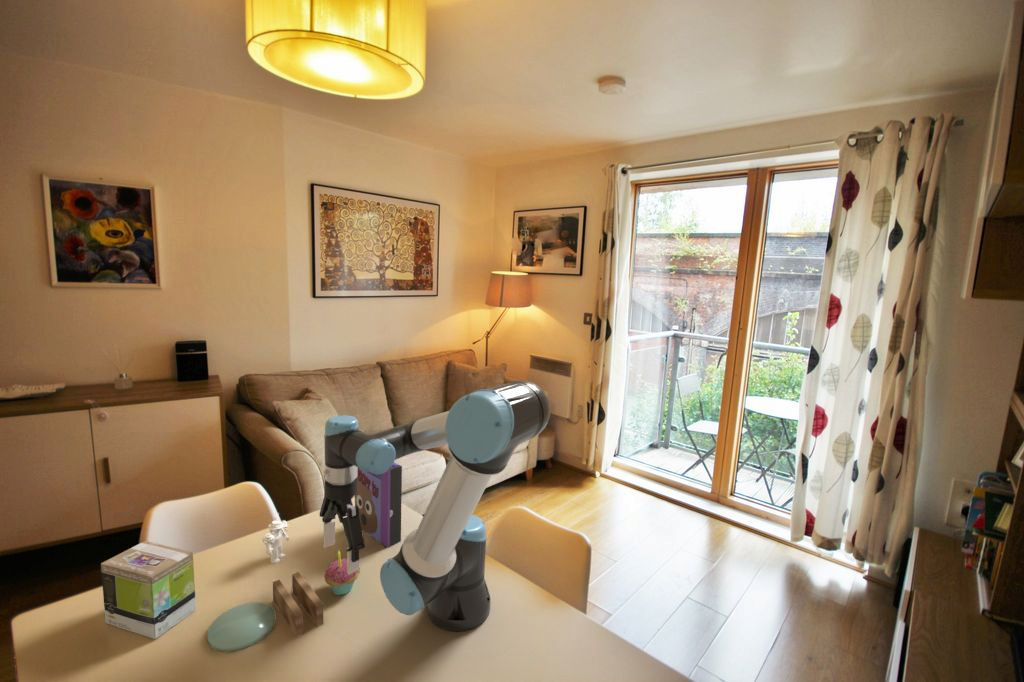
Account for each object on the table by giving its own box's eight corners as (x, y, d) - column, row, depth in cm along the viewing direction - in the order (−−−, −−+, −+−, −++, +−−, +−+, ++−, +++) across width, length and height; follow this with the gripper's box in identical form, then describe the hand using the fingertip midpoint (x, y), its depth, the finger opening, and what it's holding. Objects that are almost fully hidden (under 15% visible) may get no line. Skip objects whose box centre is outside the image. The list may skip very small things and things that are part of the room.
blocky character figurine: (280, 548, 131) (279, 509, 130) (293, 550, 131) (292, 510, 129) (259, 568, 123) (258, 526, 121) (273, 569, 122) (272, 528, 120)
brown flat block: (323, 623, 105) (323, 603, 104) (316, 626, 104) (316, 606, 103) (298, 589, 115) (298, 571, 114) (292, 592, 114) (292, 574, 113)
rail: (303, 633, 101) (302, 613, 101) (296, 637, 100) (295, 616, 100) (279, 598, 112) (279, 579, 111) (273, 600, 111) (272, 582, 110)
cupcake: (352, 601, 112) (352, 556, 110) (318, 599, 112) (317, 554, 110) (364, 578, 121) (364, 536, 119) (332, 576, 121) (331, 534, 119)
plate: (283, 629, 102) (283, 624, 102) (216, 662, 93) (215, 657, 93) (264, 598, 111) (264, 594, 111) (201, 625, 102) (201, 621, 102)
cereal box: (354, 525, 145) (354, 453, 142) (368, 519, 149) (368, 449, 145) (387, 547, 134) (388, 470, 131) (400, 541, 138) (401, 465, 134)
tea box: (198, 609, 107) (194, 551, 105) (154, 641, 98) (150, 578, 96) (149, 594, 111) (145, 538, 109) (103, 624, 102) (97, 563, 99)
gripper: (305, 465, 118) (306, 540, 121) (349, 504, 101) (348, 590, 104) (334, 458, 123) (334, 530, 127) (380, 493, 106) (379, 576, 109)
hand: (340, 558), depth 115 cm, fingers open, 13 cm apart
